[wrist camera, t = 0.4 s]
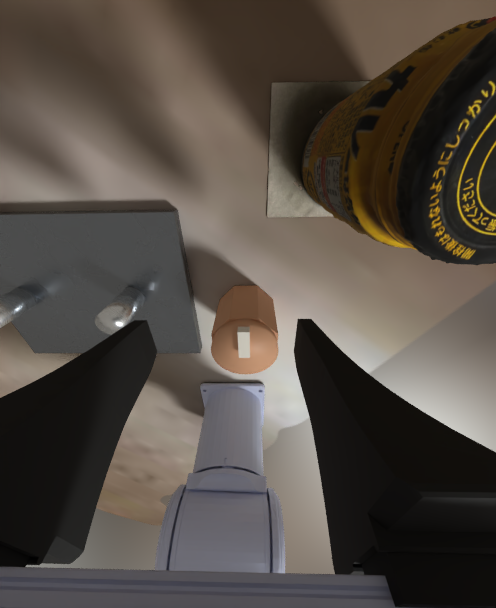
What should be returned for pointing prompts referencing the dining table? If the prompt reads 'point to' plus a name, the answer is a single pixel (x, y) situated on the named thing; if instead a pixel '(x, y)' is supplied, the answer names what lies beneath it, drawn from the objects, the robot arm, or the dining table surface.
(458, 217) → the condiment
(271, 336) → the knob
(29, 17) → the dining table surface
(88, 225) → the hub plate
